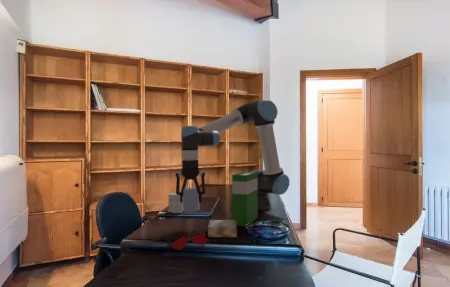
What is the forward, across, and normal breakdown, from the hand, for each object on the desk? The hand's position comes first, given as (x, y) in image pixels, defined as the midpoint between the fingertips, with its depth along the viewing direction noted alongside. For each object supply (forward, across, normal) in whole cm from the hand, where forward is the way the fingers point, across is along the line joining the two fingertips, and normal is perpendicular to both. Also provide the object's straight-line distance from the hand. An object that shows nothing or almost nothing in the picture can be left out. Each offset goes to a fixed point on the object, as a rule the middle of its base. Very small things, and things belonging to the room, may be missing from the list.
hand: (191, 209), depth 136 cm
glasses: (+9, +1, +20) cm, 21 cm away
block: (0, 0, 0) cm, 0 cm away
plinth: (+9, -14, +7) cm, 18 cm away
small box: (+9, +12, -32) cm, 35 cm away
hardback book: (+9, -26, -12) cm, 30 cm away
